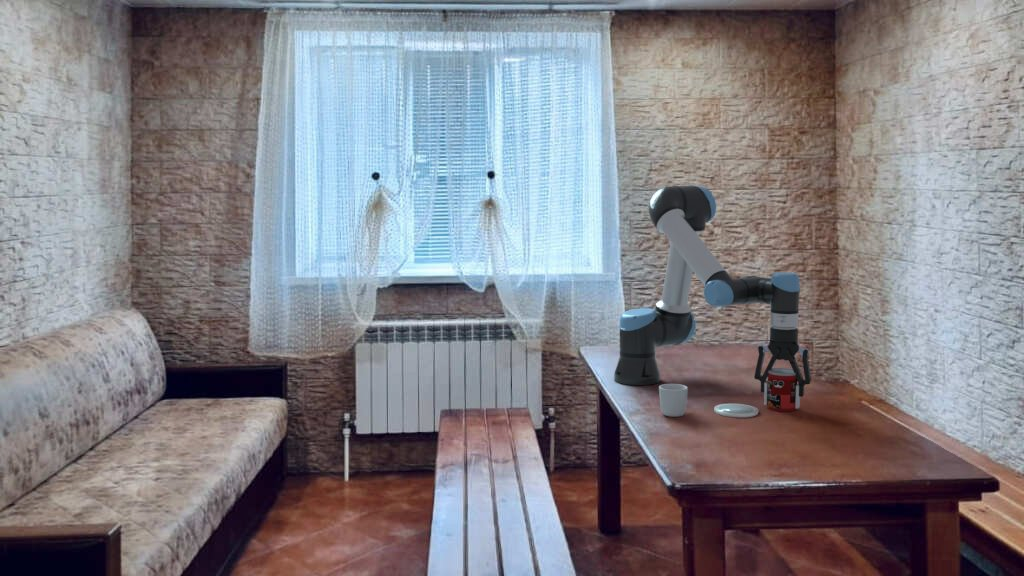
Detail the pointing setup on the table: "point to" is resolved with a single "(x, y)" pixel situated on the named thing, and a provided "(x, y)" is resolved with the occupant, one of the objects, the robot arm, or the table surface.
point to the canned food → (781, 389)
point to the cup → (673, 399)
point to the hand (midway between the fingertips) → (781, 405)
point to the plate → (736, 410)
